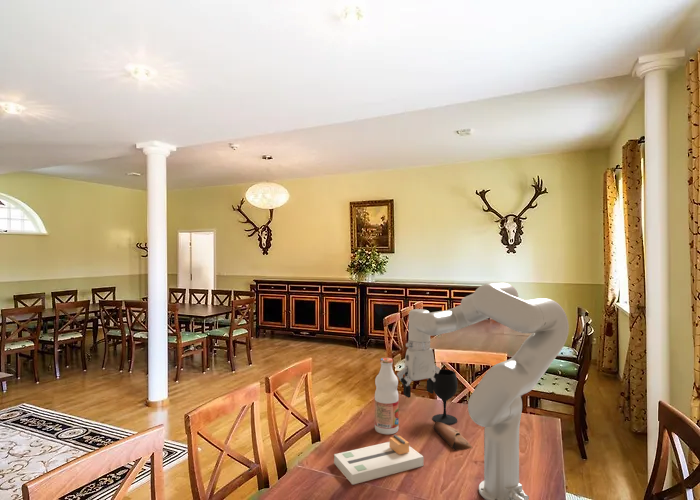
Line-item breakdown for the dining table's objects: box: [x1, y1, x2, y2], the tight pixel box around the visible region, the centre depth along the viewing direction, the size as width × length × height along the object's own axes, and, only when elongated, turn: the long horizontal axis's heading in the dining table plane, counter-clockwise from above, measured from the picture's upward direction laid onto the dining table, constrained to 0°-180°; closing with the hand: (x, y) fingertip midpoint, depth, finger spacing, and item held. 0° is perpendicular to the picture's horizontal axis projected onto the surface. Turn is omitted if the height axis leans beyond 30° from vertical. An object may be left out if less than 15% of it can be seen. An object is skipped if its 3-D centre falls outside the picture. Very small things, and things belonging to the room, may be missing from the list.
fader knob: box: [389, 434, 410, 455], centre depth 140 cm, size 4×6×4 cm, turn 25°
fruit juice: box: [374, 357, 400, 435], centre depth 163 cm, size 9×9×28 cm
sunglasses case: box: [432, 422, 473, 451], centre depth 156 cm, size 18×7×7 cm
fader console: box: [333, 441, 425, 486], centre depth 137 cm, size 26×14×3 cm, turn 115°
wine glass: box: [432, 368, 458, 426], centre depth 173 cm, size 10×10×20 cm
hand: (418, 394), depth 144 cm, fingers open, 9 cm apart
